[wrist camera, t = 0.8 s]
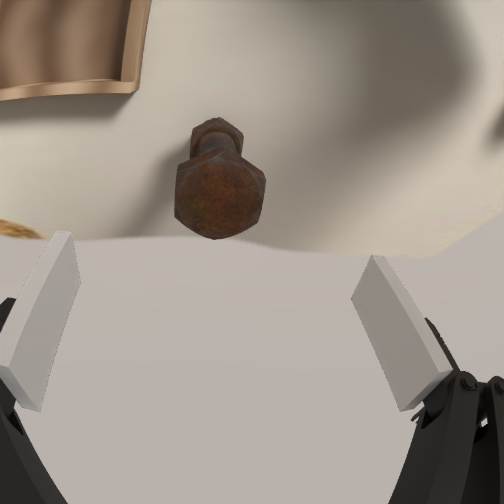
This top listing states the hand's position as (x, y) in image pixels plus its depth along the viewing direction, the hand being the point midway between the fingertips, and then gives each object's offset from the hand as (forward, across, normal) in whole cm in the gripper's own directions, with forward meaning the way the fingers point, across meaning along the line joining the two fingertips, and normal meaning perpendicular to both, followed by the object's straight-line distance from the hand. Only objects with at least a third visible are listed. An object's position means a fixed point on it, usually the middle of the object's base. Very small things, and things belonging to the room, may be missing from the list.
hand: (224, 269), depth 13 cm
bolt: (+21, 0, 0) cm, 21 cm away
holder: (+21, -17, +13) cm, 30 cm away
